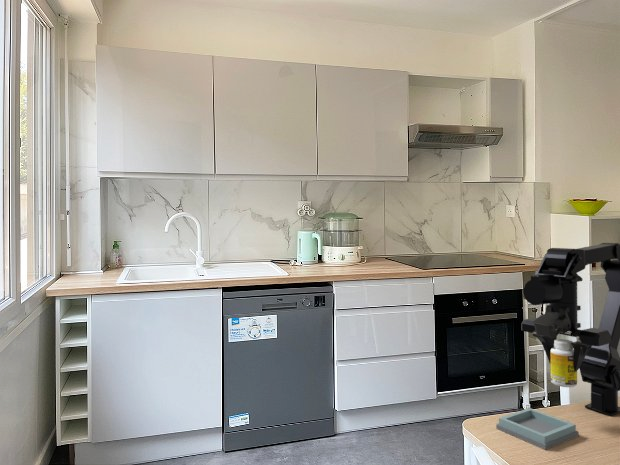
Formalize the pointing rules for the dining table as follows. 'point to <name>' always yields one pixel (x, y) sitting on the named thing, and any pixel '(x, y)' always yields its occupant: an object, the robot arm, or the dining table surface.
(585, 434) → the dining table surface
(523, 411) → the tray
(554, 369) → the supplement bottle
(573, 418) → the dining table surface
